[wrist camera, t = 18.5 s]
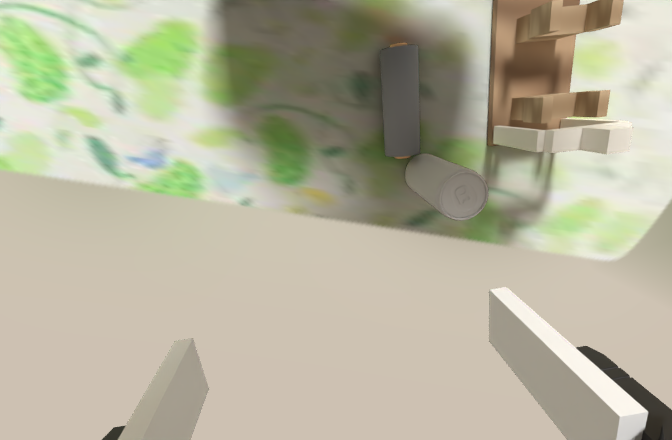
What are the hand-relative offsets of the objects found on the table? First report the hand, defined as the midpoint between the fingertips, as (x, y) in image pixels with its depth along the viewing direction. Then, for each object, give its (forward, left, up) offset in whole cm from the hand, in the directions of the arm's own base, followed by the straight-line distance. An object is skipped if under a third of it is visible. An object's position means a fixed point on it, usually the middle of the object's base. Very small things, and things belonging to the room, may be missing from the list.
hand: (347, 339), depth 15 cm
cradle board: (-11, +25, -28) cm, 39 cm away
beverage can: (-1, +12, -29) cm, 31 cm away
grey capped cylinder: (-9, +11, -28) cm, 31 cm away
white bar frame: (-5, +25, -27) cm, 37 cm away
